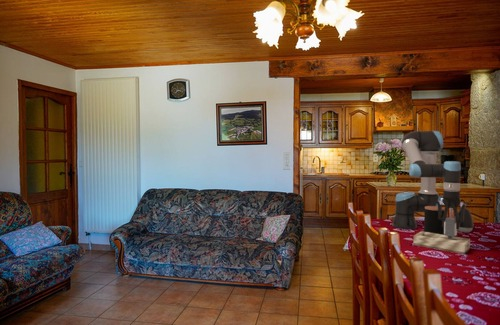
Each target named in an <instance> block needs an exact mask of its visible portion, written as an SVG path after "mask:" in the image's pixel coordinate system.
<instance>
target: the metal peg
mask: <svg viewBox="0 0 500 325" xmlns="http://www.w3.org/2000/svg"><path fill="white" fill-rule="evenodd" d="M455 222H456V219H455V217H446V220H445V234H444V235H446V236H448V239H450V240H452V237H456V236H455V235H454V223H455Z"/></svg>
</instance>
